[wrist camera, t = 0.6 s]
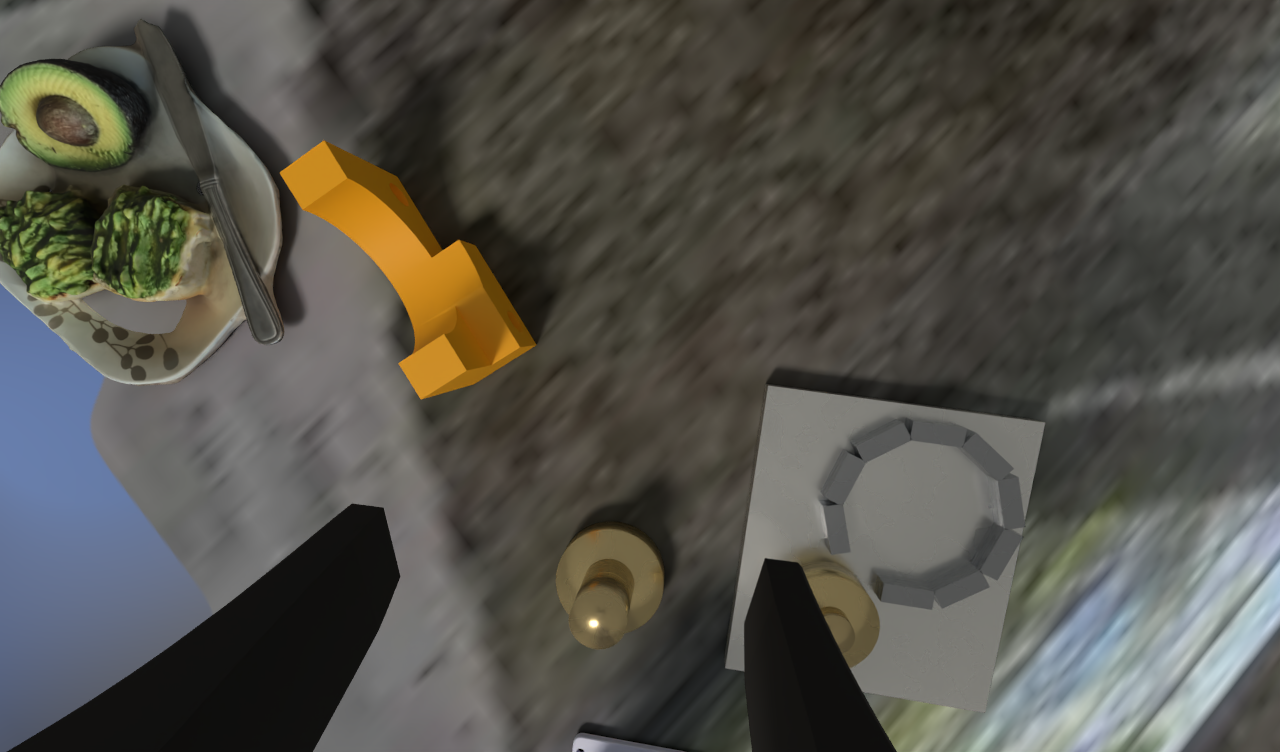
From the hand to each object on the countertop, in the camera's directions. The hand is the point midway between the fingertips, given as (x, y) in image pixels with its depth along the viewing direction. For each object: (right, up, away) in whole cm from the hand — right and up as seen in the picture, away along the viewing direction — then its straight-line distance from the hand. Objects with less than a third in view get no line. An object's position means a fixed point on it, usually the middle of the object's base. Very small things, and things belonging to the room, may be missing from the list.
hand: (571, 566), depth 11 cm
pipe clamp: (-9, +9, +21) cm, 25 cm away
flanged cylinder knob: (0, -8, +22) cm, 23 cm away
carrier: (+14, -6, +20) cm, 25 cm away
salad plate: (-28, +13, +23) cm, 38 cm away
